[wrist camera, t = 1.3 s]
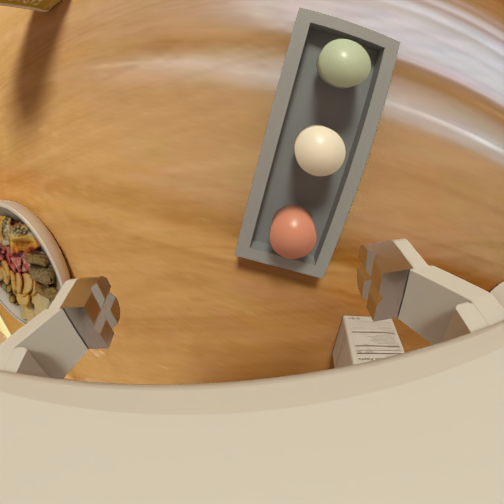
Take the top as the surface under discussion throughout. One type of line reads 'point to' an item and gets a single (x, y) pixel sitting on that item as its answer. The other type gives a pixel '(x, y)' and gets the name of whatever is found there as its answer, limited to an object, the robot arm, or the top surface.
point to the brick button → (292, 232)
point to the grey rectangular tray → (315, 113)
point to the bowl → (28, 263)
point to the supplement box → (365, 341)
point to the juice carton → (31, 4)
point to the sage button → (343, 63)
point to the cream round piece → (319, 150)
